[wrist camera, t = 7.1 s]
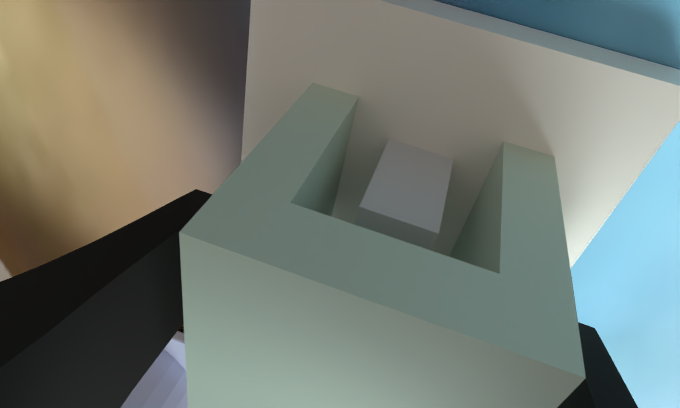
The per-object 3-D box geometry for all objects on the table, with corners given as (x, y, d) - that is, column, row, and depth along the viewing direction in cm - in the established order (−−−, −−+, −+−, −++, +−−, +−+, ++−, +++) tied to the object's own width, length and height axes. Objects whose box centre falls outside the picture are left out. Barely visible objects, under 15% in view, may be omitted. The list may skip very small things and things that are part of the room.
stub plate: (479, 367, 15) (471, 481, 12) (246, 281, 16) (190, 370, 13) (683, 70, 8) (762, 169, 6) (274, -45, 9) (178, -6, 7)
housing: (452, 336, 13) (426, 543, 9) (282, 275, 13) (190, 444, 10) (554, 156, 9) (585, 377, 5) (312, 82, 10) (179, 232, 6)
